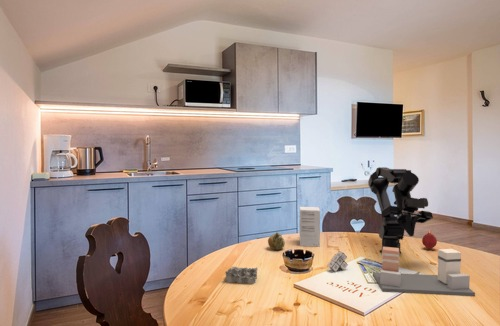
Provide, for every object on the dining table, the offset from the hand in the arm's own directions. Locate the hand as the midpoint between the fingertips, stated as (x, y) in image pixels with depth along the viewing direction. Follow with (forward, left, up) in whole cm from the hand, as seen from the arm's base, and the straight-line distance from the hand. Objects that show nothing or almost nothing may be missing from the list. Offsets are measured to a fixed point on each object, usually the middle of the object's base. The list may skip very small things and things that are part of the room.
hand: (411, 236), depth 127 cm
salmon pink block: (+2, -17, -11) cm, 20 cm away
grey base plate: (+9, -11, -13) cm, 19 cm away
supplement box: (-47, -3, -13) cm, 49 cm away
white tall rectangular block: (+15, -4, -11) cm, 19 cm away
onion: (-8, +32, -13) cm, 35 cm away
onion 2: (-50, -21, -13) cm, 56 cm away
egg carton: (-31, -55, -13) cm, 64 cm away
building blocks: (-18, -20, -13) cm, 30 cm away
